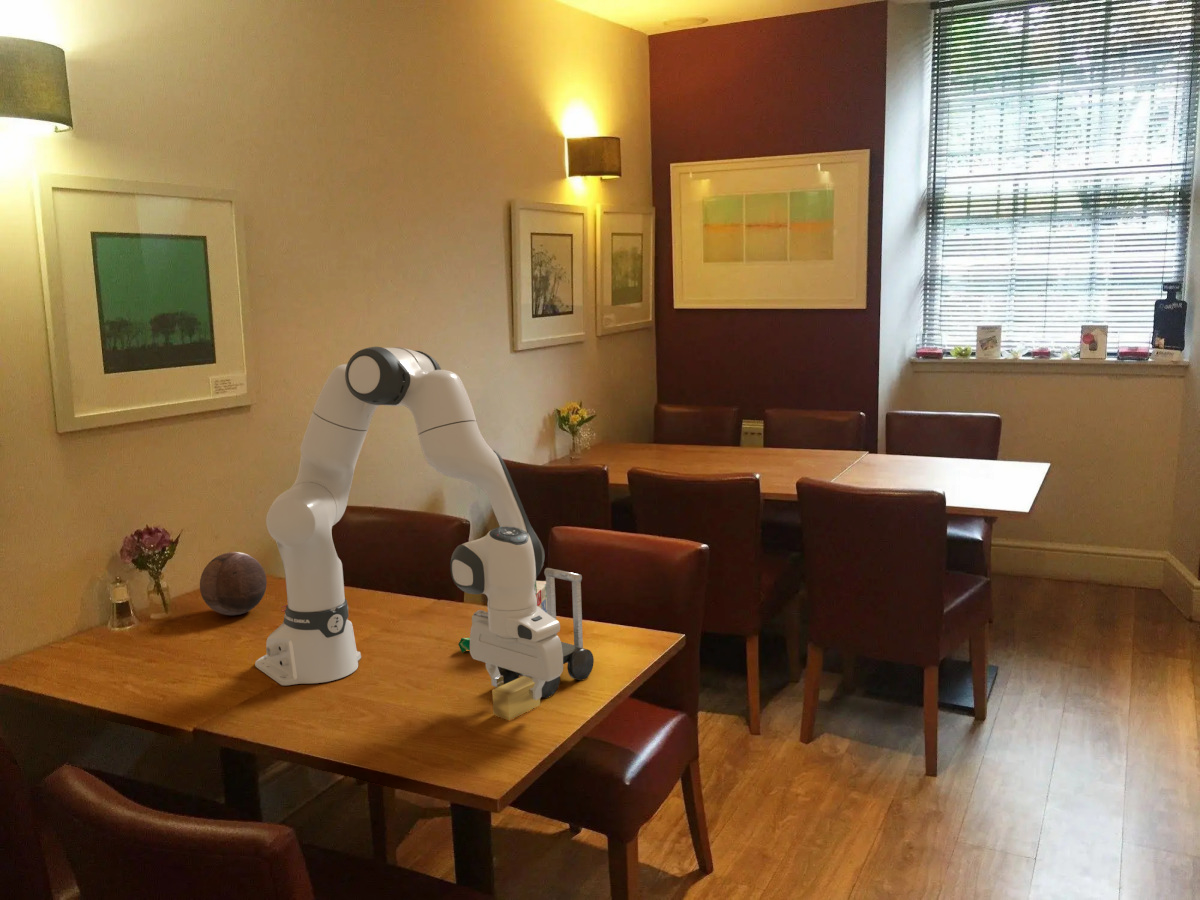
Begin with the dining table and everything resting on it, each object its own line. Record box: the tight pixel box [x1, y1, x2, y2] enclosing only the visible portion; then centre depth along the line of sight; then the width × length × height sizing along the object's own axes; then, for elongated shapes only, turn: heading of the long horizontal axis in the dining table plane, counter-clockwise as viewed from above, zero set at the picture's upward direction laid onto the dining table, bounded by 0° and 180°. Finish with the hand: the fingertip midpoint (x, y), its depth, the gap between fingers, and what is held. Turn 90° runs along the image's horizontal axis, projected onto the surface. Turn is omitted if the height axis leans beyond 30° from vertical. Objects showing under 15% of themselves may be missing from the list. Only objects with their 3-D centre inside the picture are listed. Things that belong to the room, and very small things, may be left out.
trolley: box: [497, 567, 595, 699], centre depth 193 cm, size 16×12×20 cm
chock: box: [491, 676, 541, 721], centre depth 181 cm, size 4×8×5 cm, turn 140°
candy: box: [458, 637, 470, 653], centre depth 216 cm, size 12×3×4 cm
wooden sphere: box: [199, 551, 268, 616], centre depth 240 cm, size 15×15×15 cm
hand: (516, 691), depth 181 cm, fingers open, 8 cm apart
